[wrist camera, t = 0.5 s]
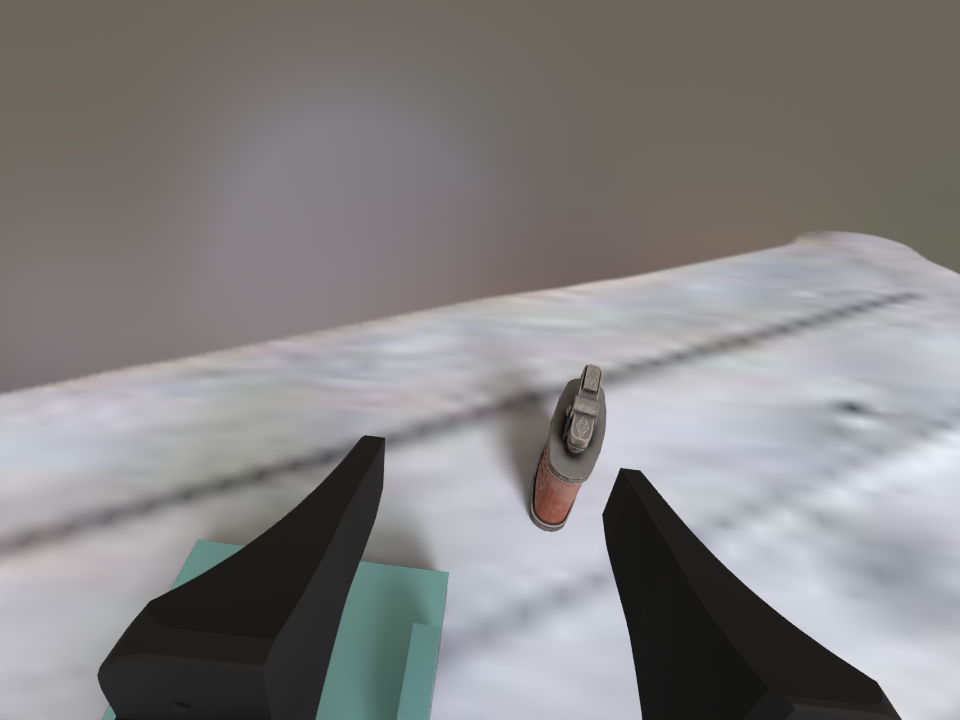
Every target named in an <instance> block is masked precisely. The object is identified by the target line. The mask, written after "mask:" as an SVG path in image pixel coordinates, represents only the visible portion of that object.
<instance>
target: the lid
mask: <svg viewBox="0 0 960 720" xmlns="http://www.w3.org/2000/svg"><path fill="white" fill-rule="evenodd" d="M243 547H245V546H242V545H234V544H226V543H219V542H211V541H204V540H197V542H196V544H195V546H194V548H193V550H192V552H191V554H190V555H189V557H188V559H187V561H186V563H185V565H184V567H183V569H182V570H181V572H180V574H179V576H178V578H177V580H176V582H175V583H174V585H173V587H172V589H171V590H173V589H175V588H177V587H179V586H180V585H182V584H184V583H186V582H188V581H190V580H192V579H194V578H195V577H197V576H199V575H201V574H202V573H204V572H206V571H207V570H209V569H210V568H212V567H214V566H215V565H217V564H218V563H220V562H222V561H223V560H225V559H226V558H228V557H230V556H231V555H233V554H234V553H236V552H238V551H239V550H241V549H242V548H243ZM448 575H449V573H448V572H440V571H433V570H425V569H417V568H410V567H402V566H395V565H387V564H379V563H372V562H364V561H360V563H359V565H358V568H357V571H356V574H355V576H354V579H353V582H352V584H351V587H350V590H349V593H348V596H347V599H346V603H345V606H344V610H343V613H342V617H341V621H340V625H339V628H338V632H337V636H336V640H335V644H334V647H333V651H332V655H331V659H330V663H329V667H328V671H327V675H326V679H325V683H324V687H323V691H322V695H321V699H320V703H319V707H318V711H317V715H316V720H429V714H430V707H431V700H432V692H433V685H434V678H435V670H436V663H437V656H438V648H439V641H440V634H441V627H442V619H443V612H444V605H445V597H446V590H447V583H448ZM115 718H116V715H115V713H114V711H113V710H112V708H111V706H110V705H109V707H108V709H107V711H106V713H105V714H104V716H103V718H102V720H114V719H115Z"/></svg>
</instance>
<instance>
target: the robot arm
mask: <svg viewBox="0 0 960 720" xmlns="http://www.w3.org/2000/svg"><path fill="white" fill-rule="evenodd" d="M384 454H385V438H382V437H374V436H367V435H365V436H363V437H362V438H361V439H360V440H359V441H358V443H357V444H356V445H355V446H354V448H353V449H352V450H351V451H350V452H349V454H348V455H347V456H346V457H345V458H344V459H343V460H342V462H341V463H340V464H339V465H338V466H337V467H336V468H335V469H334V470H333V471H332V472H331V474H330V475H329V476H328V477H327V478H326V479H325V480H324V481H323V482H322V483H321V484H320V485H319V486H318V487H317V488H316V489H315V490H314V491H313V492H312V493H311V494H309V495H308V496H307V497H306V498H305V499H304V500H303V501H302V502H301V503H300V504H299V505H298V506H296V507H295V508H294V509H293V510H292V511H291V512H290V513H288V514H287V515H286V516H285V517H284V518H282V519H281V520H280V521H279V522H277V523H276V524H275V525H274V526H272V527H271V528H270V529H268V530H267V531H266V532H264V533H263V534H262V535H260V536H259V537H257V538H256V539H255V540H253V541H252V542H251V543H249V544H248V545H246V546H245V547H243V548H242V549H241V550H239V551H238V552H236V553H234V554H233V555H231V556H230V557H228V558H226V559H225V560H223V561H222V562H220V563H218V564H217V565H215V566H214V567H212V568H210V569H209V570H207V571H206V572H204V573H202V574H201V575H199V576H197V577H195V578H194V579H192V580H190V581H188V582H186V583H184V584H182V585H180V586H179V587H177V588H175V589H173V590H171V591H169V592H167V593H165V594H163V595H162V596H160V597H158V598H156V599H154V600H152V601H150V602H149V603H148V604H147V605H146V607H145V608H144V609H143V610H142V611H141V612H140V614H139V615H138V616H137V617H136V618H135V619H134V620H133V622H132V623H131V624H130V626H129V627H128V628H127V629H126V631H125V632H124V634H123V635H122V636H121V638H120V639H119V641H118V642H117V643H116V645H115V646H114V648H113V649H112V651H111V652H110V653H109V655H108V656H107V658H106V659H105V661H104V662H103V663H102V665H101V666H100V668H99V672H98V680H99V683H100V687H101V689H102V691H103V693H104V695H105V697H106V699H107V700H108V702H109V704H110V706H111V708H112V710H113V711H114V713H115V715H116V718H115V719H114V720H316V715H317V711H318V707H319V703H320V699H321V695H322V691H323V687H324V683H325V679H326V675H327V671H328V667H329V663H330V659H331V655H332V651H333V647H334V644H335V640H336V636H337V632H338V628H339V625H340V621H341V617H342V613H343V610H344V606H345V603H346V599H347V596H348V593H349V590H350V587H351V584H352V582H353V579H354V576H355V574H356V571H357V568H358V565H359V563H360V560H361V557H362V555H363V552H364V549H365V546H366V544H367V541H368V538H369V535H370V533H371V530H372V527H373V524H374V521H375V519H376V515H377V511H378V507H379V502H380V498H381V494H382V490H383V477H384ZM602 516H603V524H604V532H605V539H606V546H607V550H608V554H609V558H610V562H611V566H612V570H613V574H614V577H615V581H616V585H617V588H618V592H619V596H620V600H621V603H622V607H623V611H624V614H625V618H626V622H627V627H628V631H629V635H630V641H631V647H632V653H633V659H634V665H635V671H636V677H637V684H638V691H639V698H640V705H641V712H642V720H902V719H901V718H900V716H899V715H898V713H897V712H896V710H895V709H894V707H893V706H892V704H891V703H890V701H889V700H888V698H887V696H886V695H885V693H884V692H883V690H882V689H881V687H880V686H879V685H878V683H877V682H876V681H874V680H873V679H871V678H870V677H868V676H867V675H865V674H864V673H862V672H861V671H859V670H858V669H856V668H855V667H853V666H852V665H850V664H849V663H847V662H846V661H844V660H842V659H841V658H839V657H838V656H836V655H835V654H833V653H832V652H830V651H829V650H827V649H826V648H825V647H823V646H822V645H820V644H819V643H818V642H816V641H815V640H814V639H812V638H811V637H809V636H808V635H807V634H805V633H804V632H803V631H801V630H800V629H798V628H797V627H796V626H795V625H793V624H792V623H791V622H789V621H788V620H787V619H785V618H784V617H783V616H782V615H780V614H779V613H778V612H777V611H775V610H774V609H773V608H772V607H771V606H769V605H768V604H767V603H766V602H764V601H763V600H762V599H761V598H760V597H758V596H757V595H756V594H755V593H754V592H753V591H751V590H750V589H749V588H748V587H747V586H746V585H745V584H744V583H742V582H741V581H740V580H739V579H738V578H737V577H736V576H735V575H734V574H733V573H732V572H731V571H730V570H728V569H727V568H726V567H725V566H724V565H723V564H722V563H721V562H720V561H719V560H718V559H717V558H716V557H715V556H714V555H713V554H712V553H711V552H710V551H709V550H708V549H707V547H706V546H705V545H704V544H703V543H702V542H701V541H700V540H699V539H698V538H697V537H696V536H695V535H694V534H693V532H692V531H691V530H690V529H689V528H688V527H687V526H686V525H685V523H684V522H683V521H682V520H681V519H680V518H679V517H678V515H677V514H676V513H675V512H674V511H673V509H672V508H671V507H670V506H669V505H668V503H667V502H666V501H665V500H664V499H663V497H662V496H661V495H660V494H659V493H658V491H657V490H656V489H655V488H654V486H653V485H652V484H651V483H650V482H649V480H648V479H647V478H646V477H645V476H644V475H643V473H642V472H641V471H640V470H632V469H624V468H620V471H619V473H618V476H617V478H616V481H615V483H614V486H613V489H612V491H611V494H610V496H609V499H608V501H607V504H606V507H605V509H604V512H603V514H602Z"/></svg>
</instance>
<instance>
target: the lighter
mask: <svg viewBox="0 0 960 720" xmlns="http://www.w3.org/2000/svg"><path fill="white" fill-rule="evenodd" d="M601 378H602V370H601V369H600V367H599V366H596V365H592V364H589V365H586V366H585V368H584V370H583V373H582V375H581V378H580V379H574V380H571V381H570V382H569V383H568V384H567V385H566V387H565V389H564V391H563V393H562V395H561V396H560V398H559V401H558V404H557V407H556V409H555V412H554V415H553V418H552V421H551V426H550V432H549V438H548V440H547V442H546V444H545V446H544V448H543V450H542V452H541V454H540V457H539V460H538V463H537V466H536V469H535V472H534V475H533V480H532V486H531V492H530V511H529V513H530V518H531V520H532V522H533V523H534V524H535V525H536V526H537V527H538V528H540V529H542V530H544V531H548V532H555V531H558V530H560V529H562V528H563V526H564V525H565V523H566V521H567V519H568V517H569V514H570V512H571V510H572V507H573V505H574V503H575V499H576V496H577V493H578V491H579V489H580V487H581V485H582V483H583V482H585V481H586V480H587V479H588V478H589V476H590V474H591V472H592V470H593V468H594V466H595V463H596V461H597V458H598V456H599V454H600V451H601V447H602V443H603V439H604V435H605V427H606V404H605V394H604V392H603V389H602V388H601V387H600V384H601Z"/></svg>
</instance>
